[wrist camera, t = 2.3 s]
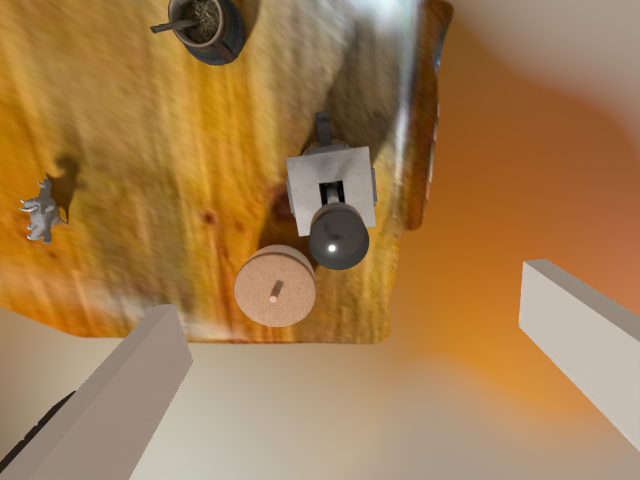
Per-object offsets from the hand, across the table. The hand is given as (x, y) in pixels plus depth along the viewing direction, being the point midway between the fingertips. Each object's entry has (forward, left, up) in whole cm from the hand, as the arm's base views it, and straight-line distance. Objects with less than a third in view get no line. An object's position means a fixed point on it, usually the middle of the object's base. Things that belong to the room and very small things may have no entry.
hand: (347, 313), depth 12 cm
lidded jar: (+13, -9, -35) cm, 38 cm away
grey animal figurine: (0, -39, -35) cm, 52 cm away
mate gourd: (-18, -11, -35) cm, 41 cm away
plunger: (0, 0, -26) cm, 26 cm away
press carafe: (-2, 0, -34) cm, 34 cm away
